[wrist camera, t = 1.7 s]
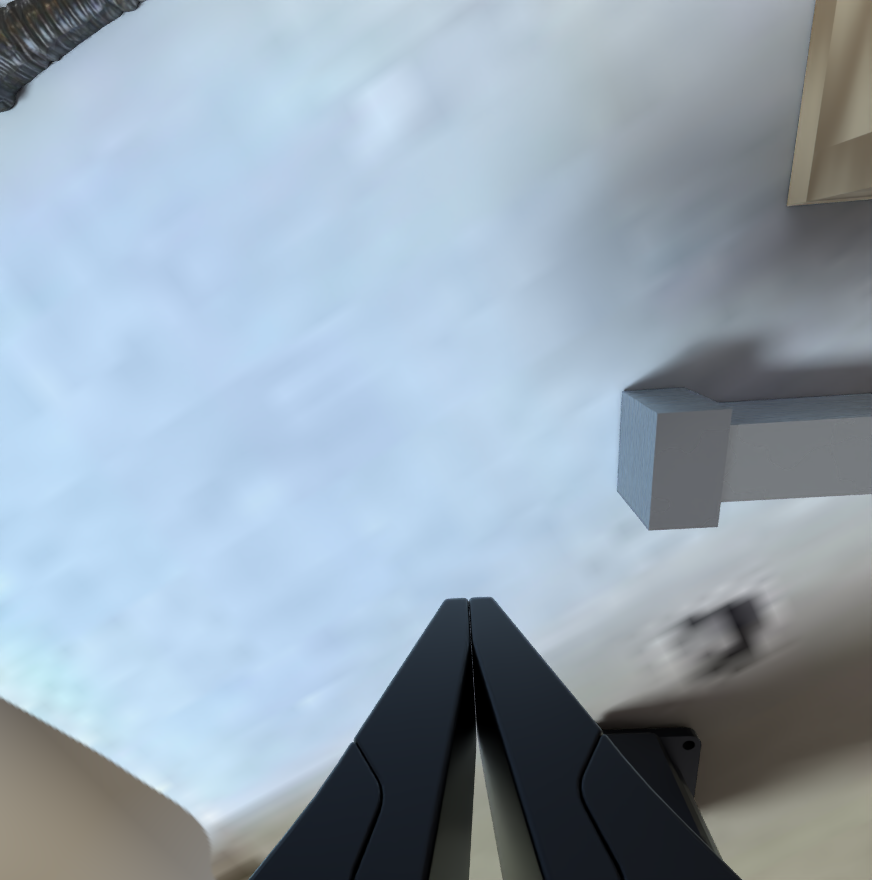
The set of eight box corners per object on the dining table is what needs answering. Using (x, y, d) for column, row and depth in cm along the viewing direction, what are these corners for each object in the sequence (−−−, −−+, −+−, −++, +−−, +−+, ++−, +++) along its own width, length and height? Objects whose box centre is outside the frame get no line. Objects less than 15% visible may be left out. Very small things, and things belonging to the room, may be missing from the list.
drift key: (980, 471, 16) (1084, 508, 14) (617, 491, 17) (648, 530, 14) (1012, 365, 15) (1132, 383, 12) (621, 391, 16) (657, 413, 13)
